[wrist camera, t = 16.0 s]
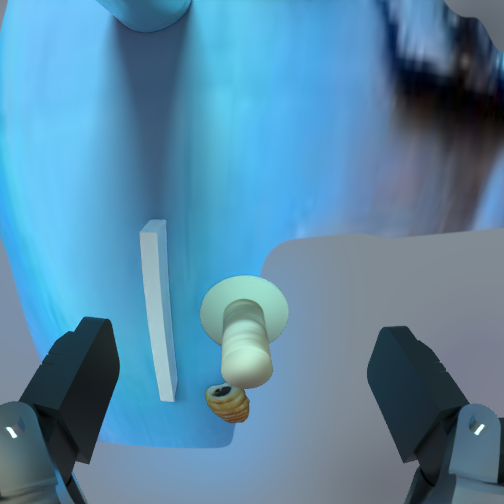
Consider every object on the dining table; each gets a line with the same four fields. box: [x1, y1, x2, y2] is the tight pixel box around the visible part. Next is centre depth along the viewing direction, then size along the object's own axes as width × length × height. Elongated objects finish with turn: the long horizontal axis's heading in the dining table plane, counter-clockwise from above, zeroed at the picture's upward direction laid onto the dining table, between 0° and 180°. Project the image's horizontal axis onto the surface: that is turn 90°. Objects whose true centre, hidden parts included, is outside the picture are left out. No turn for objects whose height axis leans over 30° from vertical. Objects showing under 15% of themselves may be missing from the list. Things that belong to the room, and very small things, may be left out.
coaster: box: [200, 275, 289, 345], centre depth 43 cm, size 12×12×1 cm
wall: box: [139, 219, 178, 402], centre depth 40 cm, size 26×2×5 cm, turn 177°
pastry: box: [205, 382, 250, 423], centre depth 48 cm, size 9×7×4 cm
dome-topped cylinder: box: [221, 299, 273, 389], centre depth 38 cm, size 6×6×11 cm
